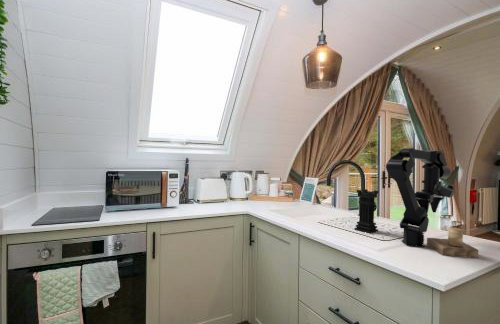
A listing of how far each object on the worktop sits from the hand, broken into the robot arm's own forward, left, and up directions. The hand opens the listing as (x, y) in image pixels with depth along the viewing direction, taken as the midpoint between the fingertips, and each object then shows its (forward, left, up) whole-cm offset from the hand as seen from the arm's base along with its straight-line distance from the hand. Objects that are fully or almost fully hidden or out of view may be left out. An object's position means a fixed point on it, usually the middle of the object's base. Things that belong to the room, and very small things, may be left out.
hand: (430, 213), depth 119 cm
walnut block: (+2, -13, -12) cm, 18 cm away
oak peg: (+2, -15, -12) cm, 19 cm away
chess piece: (-24, +10, -12) cm, 29 cm away
